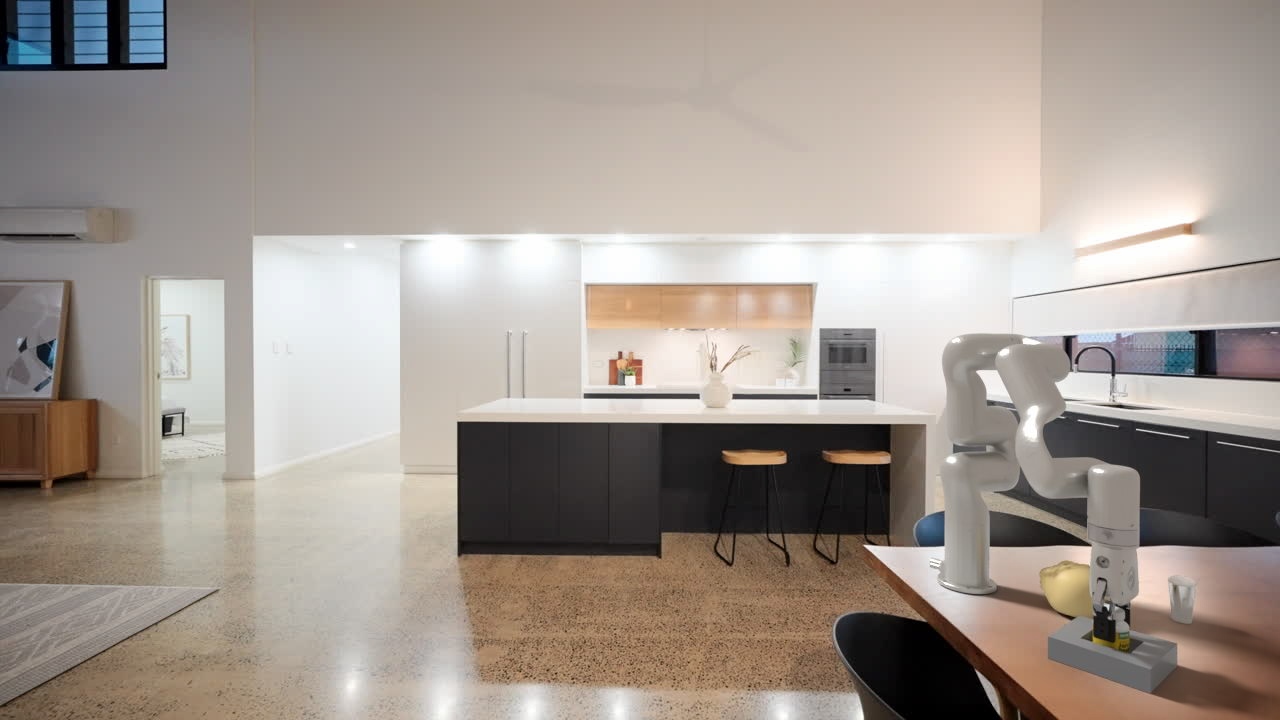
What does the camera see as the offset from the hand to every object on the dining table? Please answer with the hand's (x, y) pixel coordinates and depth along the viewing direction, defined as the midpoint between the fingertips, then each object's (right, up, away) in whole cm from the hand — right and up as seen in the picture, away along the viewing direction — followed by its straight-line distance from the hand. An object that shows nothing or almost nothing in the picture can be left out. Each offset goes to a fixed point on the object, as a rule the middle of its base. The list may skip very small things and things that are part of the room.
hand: (1111, 633), depth 114 cm
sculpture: (+8, -5, +21) cm, 23 cm away
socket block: (0, -5, 0) cm, 5 cm away
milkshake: (+27, -5, +17) cm, 33 cm away
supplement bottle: (0, -5, 0) cm, 5 cm away
